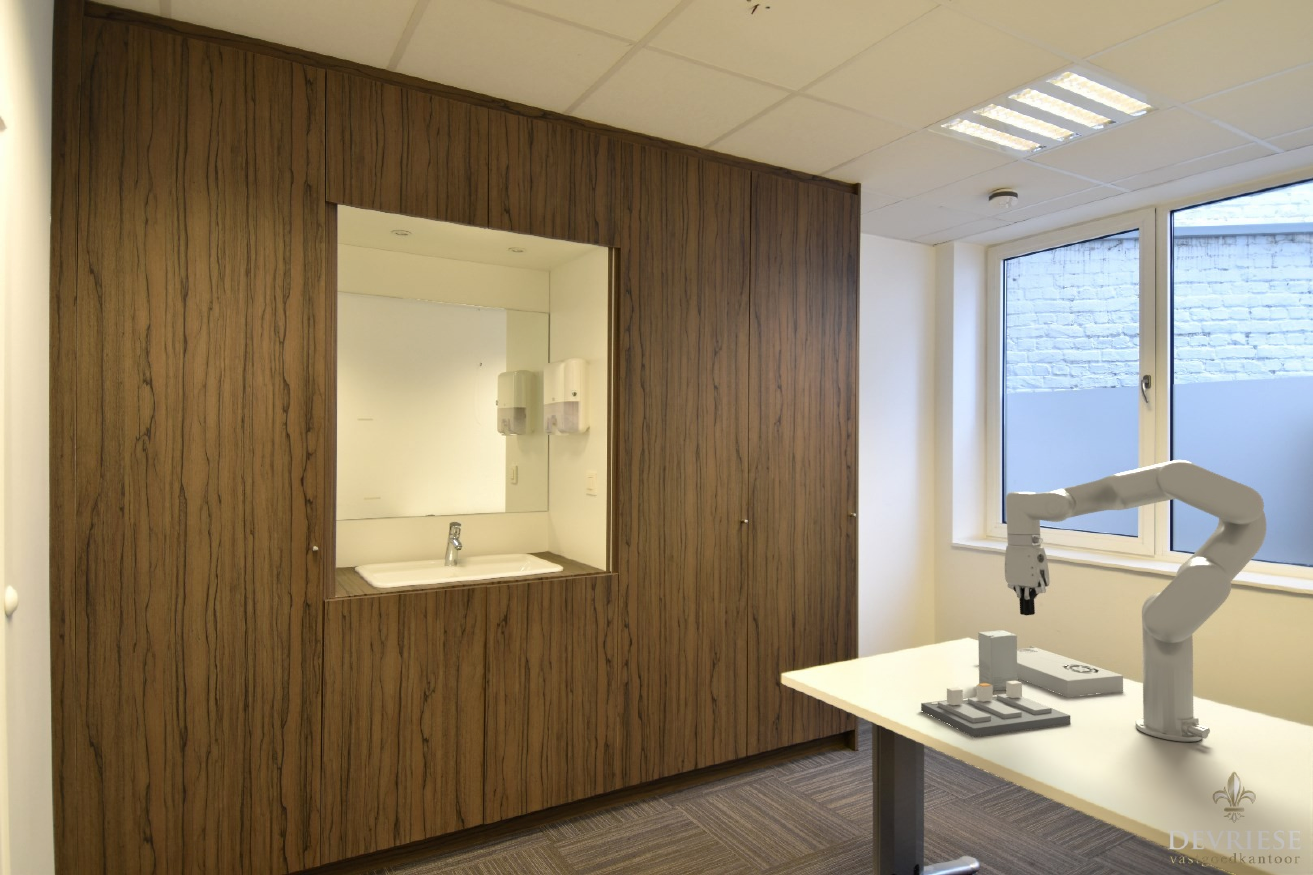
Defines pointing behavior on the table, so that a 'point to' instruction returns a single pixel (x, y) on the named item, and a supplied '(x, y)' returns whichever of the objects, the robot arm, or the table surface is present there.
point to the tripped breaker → (984, 692)
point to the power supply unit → (1065, 674)
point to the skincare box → (997, 658)
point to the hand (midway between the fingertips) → (1027, 614)
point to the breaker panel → (996, 715)
